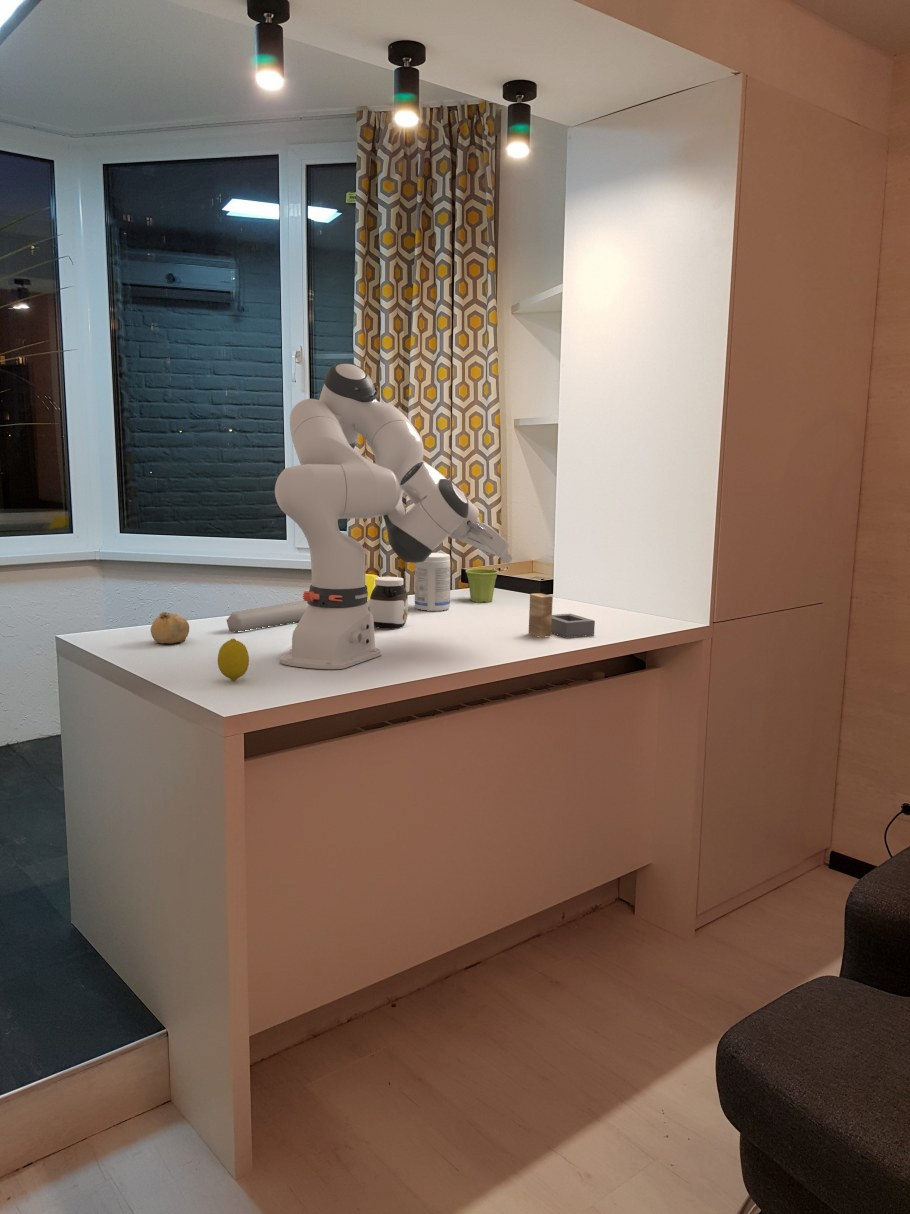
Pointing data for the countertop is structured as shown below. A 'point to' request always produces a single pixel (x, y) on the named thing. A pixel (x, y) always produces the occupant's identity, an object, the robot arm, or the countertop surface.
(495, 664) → the countertop surface
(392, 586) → the spread jar
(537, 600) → the wooden block
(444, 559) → the supplement tub
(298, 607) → the tube
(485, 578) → the plant pot
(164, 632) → the onion
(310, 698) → the countertop surface
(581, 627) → the grey socket block
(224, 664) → the lemon
